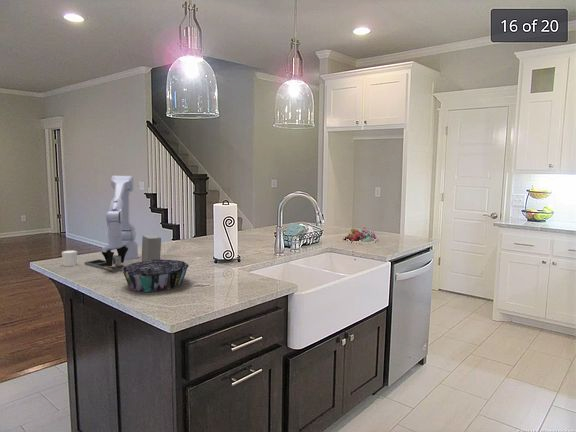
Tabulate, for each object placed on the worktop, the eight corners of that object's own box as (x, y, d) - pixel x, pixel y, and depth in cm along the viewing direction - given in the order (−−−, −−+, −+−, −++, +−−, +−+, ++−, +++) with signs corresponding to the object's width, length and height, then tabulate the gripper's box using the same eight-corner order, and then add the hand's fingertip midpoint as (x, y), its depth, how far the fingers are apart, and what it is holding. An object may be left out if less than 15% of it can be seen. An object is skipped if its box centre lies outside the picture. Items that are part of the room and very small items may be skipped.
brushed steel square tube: (114, 267, 203) (114, 254, 203) (121, 268, 202) (120, 255, 201) (108, 269, 200) (108, 256, 199) (115, 270, 198) (114, 257, 198)
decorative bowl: (200, 289, 180) (201, 266, 180) (140, 299, 160) (142, 273, 159) (166, 277, 197) (167, 256, 197) (108, 284, 176) (109, 261, 176)
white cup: (60, 267, 202) (59, 253, 201) (63, 264, 209) (63, 250, 208) (76, 267, 204) (75, 252, 203) (79, 263, 210) (78, 249, 210)
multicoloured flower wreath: (338, 238, 304) (338, 225, 303) (367, 237, 311) (368, 225, 310) (353, 245, 280) (354, 231, 279) (385, 244, 288) (386, 230, 286)
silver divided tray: (99, 262, 215) (99, 259, 214) (128, 269, 202) (128, 266, 202) (84, 265, 208) (84, 261, 208) (113, 273, 195) (113, 269, 195)
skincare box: (140, 267, 207) (140, 235, 205) (154, 265, 212) (154, 234, 210) (147, 270, 201) (147, 237, 199) (161, 268, 205) (161, 236, 203)
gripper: (118, 233, 207) (119, 260, 209) (96, 237, 193) (97, 266, 195) (130, 234, 204) (131, 261, 206) (108, 239, 191) (109, 268, 193)
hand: (115, 264), depth 200 cm, fingers open, 7 cm apart
